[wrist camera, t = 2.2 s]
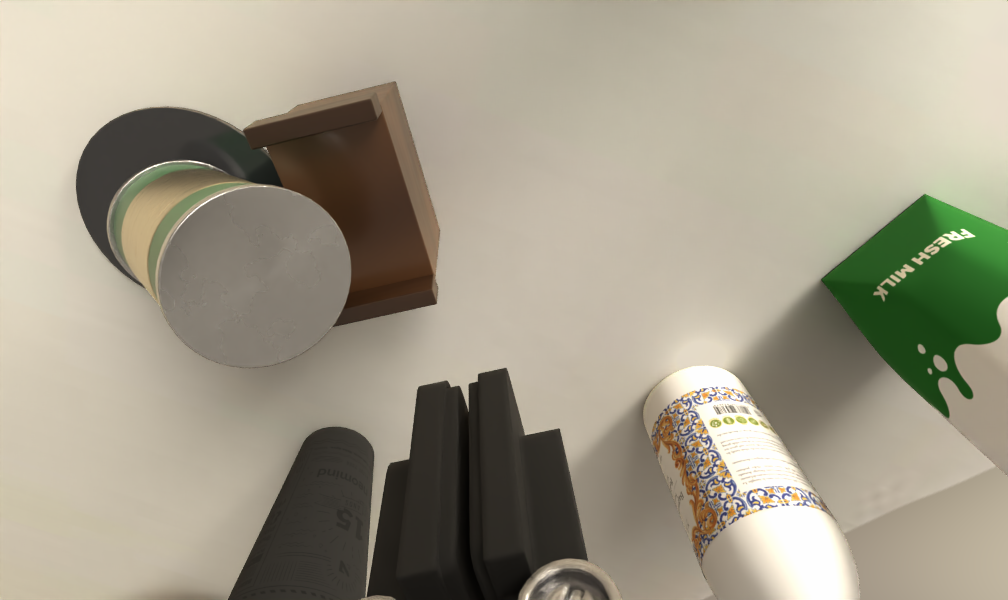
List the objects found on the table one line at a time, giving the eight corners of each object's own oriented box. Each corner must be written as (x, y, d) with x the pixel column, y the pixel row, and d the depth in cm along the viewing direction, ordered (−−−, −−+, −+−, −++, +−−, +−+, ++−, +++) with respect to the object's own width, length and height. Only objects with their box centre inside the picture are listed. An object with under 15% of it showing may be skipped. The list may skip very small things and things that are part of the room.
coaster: (32, 135, 28) (28, 137, 28) (247, 82, 27) (245, 83, 27) (149, 322, 33) (146, 325, 33) (331, 281, 33) (330, 284, 32)
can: (123, 164, 29) (-93, 283, 18) (354, 107, 28) (281, 195, 17) (187, 278, 32) (39, 440, 21) (396, 231, 31) (357, 372, 20)
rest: (292, 94, 28) (241, 129, 21) (392, 70, 27) (370, 98, 21) (355, 259, 32) (329, 328, 26) (442, 239, 32) (437, 304, 26)
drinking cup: (358, 508, 42) (282, 889, 24) (260, 464, 39) (96, 856, 22) (417, 442, 39) (378, 819, 22) (315, 391, 36) (178, 773, 19)
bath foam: (633, 376, 37) (780, 727, 20) (740, 350, 37) (987, 687, 19) (648, 452, 41) (784, 809, 23) (745, 429, 40) (960, 776, 23)
